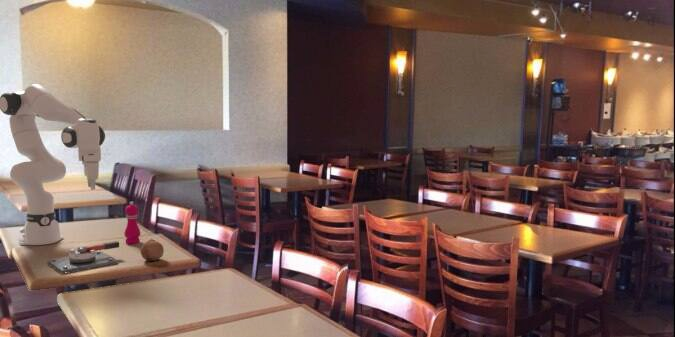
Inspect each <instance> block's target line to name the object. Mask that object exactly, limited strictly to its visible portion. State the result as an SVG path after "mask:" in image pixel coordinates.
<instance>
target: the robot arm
mask: <svg viewBox="0 0 675 337" xmlns="http://www.w3.org/2000/svg"><path fill="white" fill-rule="evenodd" d="M0 111H1V112H2V113H3V114H4V115H7V116H10V117H9V127H10V132H11V135H12V139H13V141H14V144H15V147H16V150H17V152H18V153H19V154H20V155H21V156H24V157H26V158H27V159H29V161H23V162H19V163H17V164H14V165H13V166H12V167H11V169H10V172H9V174H10V175H9V176H10V178H11V181H12V183H14V185H17V186H18V187H20V188H21V190H22V191H23V193H24V195H25V198H26V208H27V213H26V222H25V224H24V225H23V228H20V230H19V234H20V236H18V241H19V244H20V245H21V246H22V245H23V246H26V245H27V246H41V245H42V246H43V245H49V244H54V243H57V242H59V241H60V240H64V239H65V238H64V236H63V235H61V230H60V224H59V222H58V221H57V220H56V217H57V216H56V211H55V204H54V202H55V201H54V195H52V193H51V192H48V191H46V190H45V189H44V186H43V184H48V183H54V182H58V181H60V180H62V179H64V178H65V176H66V173H67V168H66V165H65V163H64V162H63V161H62V160H60V159H58V158H56V157H55V156H54V155H53V154H51V152H50V151H49V150H48V149H47V147H46V146H45V144H44V142H43V139H42V136H41V133H40V132H39V128H38V127H37V124H36V120H35V119H36V117H38V118H40V119H43V120H45V121H49V122H59V123H66V124H69V125H70V126H67V127H65V128H64V129H63V130H62V132H61V137H60V138H61V142H62V144H63V146H65V147H66V148H68V149H77V151H78V153H77V154H78V161H80V162H81V164H82V165H83V174H84V176H85V177H86V180H87V186H88V187H89V188H90V190H91V191H92V190H96V182H97V181H96V180H99V173H100V171H99V170H100V167H99V166H100V162H101V160H102V156H101V155H102V152H101V149H102V148H101V146H102V145H103V144H104V142H105V140H106V133H105V131H104V129H103V128H102V127H101V126H100V125H99V123H98V121H97V120H96V119H93V118H88V117H86V116H84V115H83V114H81V112H79V111H78V110H76V109H74V108H73V107H71V106H70V105H67V104H66V103H64V102H63V101H62V100H60V99H58V98H57V97H56V96H55V95H54V94H53V93H52V92H51V91H50V90H48V89H47V88H45V87H44V86H42V85H41V84H36V83H35V84H30V85H29V86H27V87H26V88H25V90H23V91H9V92H5V93H2V94H1V95H0Z"/></svg>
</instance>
